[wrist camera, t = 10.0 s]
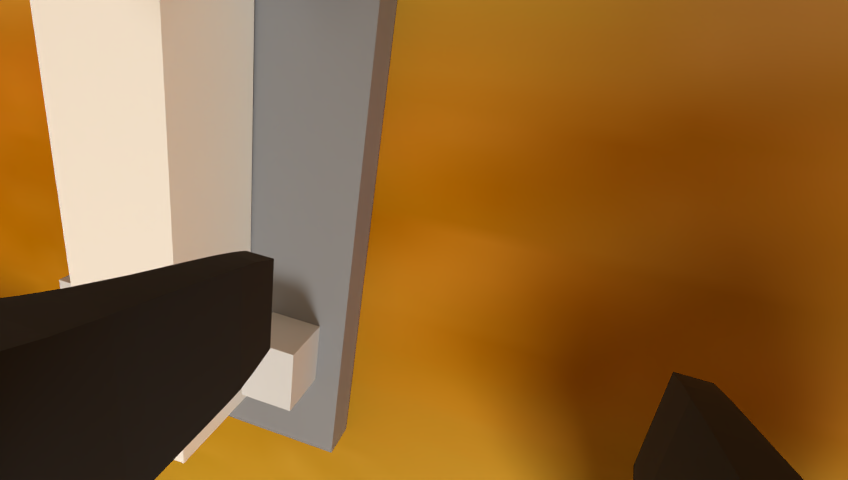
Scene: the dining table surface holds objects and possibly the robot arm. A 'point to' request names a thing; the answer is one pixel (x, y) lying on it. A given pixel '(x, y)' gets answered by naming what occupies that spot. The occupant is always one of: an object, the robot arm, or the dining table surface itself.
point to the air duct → (149, 134)
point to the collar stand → (313, 201)
